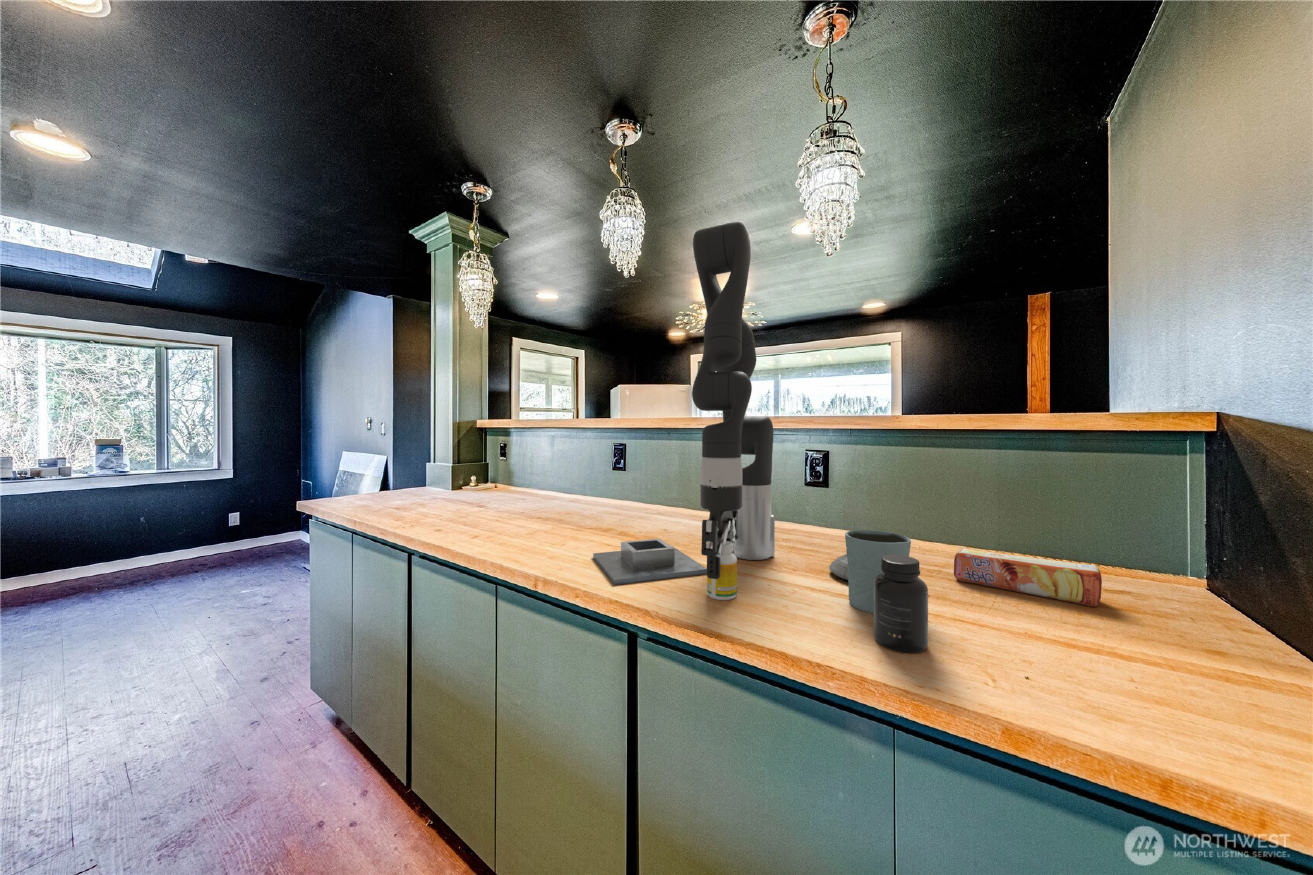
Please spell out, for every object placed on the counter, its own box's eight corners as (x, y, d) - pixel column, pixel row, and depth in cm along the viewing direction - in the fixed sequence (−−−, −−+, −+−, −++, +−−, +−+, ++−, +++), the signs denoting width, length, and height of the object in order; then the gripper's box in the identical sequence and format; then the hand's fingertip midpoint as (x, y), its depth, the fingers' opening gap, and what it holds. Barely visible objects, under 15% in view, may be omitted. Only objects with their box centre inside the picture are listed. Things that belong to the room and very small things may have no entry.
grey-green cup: (833, 603, 79) (834, 534, 79) (861, 590, 86) (862, 526, 86) (894, 622, 72) (895, 546, 71) (920, 606, 78) (920, 536, 78)
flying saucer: (903, 597, 83) (903, 567, 83) (819, 580, 92) (819, 553, 92) (915, 575, 95) (915, 549, 95) (840, 563, 104) (840, 539, 104)
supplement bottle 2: (880, 628, 70) (880, 549, 69) (931, 641, 65) (932, 557, 65) (867, 644, 64) (868, 559, 64) (922, 660, 60) (923, 569, 60)
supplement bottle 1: (701, 595, 83) (701, 543, 83) (718, 588, 87) (718, 538, 87) (725, 603, 79) (726, 548, 79) (742, 595, 83) (742, 542, 83)
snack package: (952, 582, 91) (952, 548, 91) (959, 574, 95) (959, 542, 95) (1101, 612, 76) (1102, 571, 76) (1101, 601, 81) (1101, 563, 81)
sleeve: (672, 549, 114) (672, 531, 114) (707, 573, 96) (707, 552, 95) (593, 557, 108) (593, 538, 107) (614, 585, 89) (614, 562, 89)
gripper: (713, 477, 91) (713, 559, 91) (687, 485, 78) (687, 579, 78) (751, 479, 88) (750, 563, 88) (730, 487, 75) (729, 586, 75)
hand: (720, 571), depth 83 cm, fingers open, 8 cm apart
